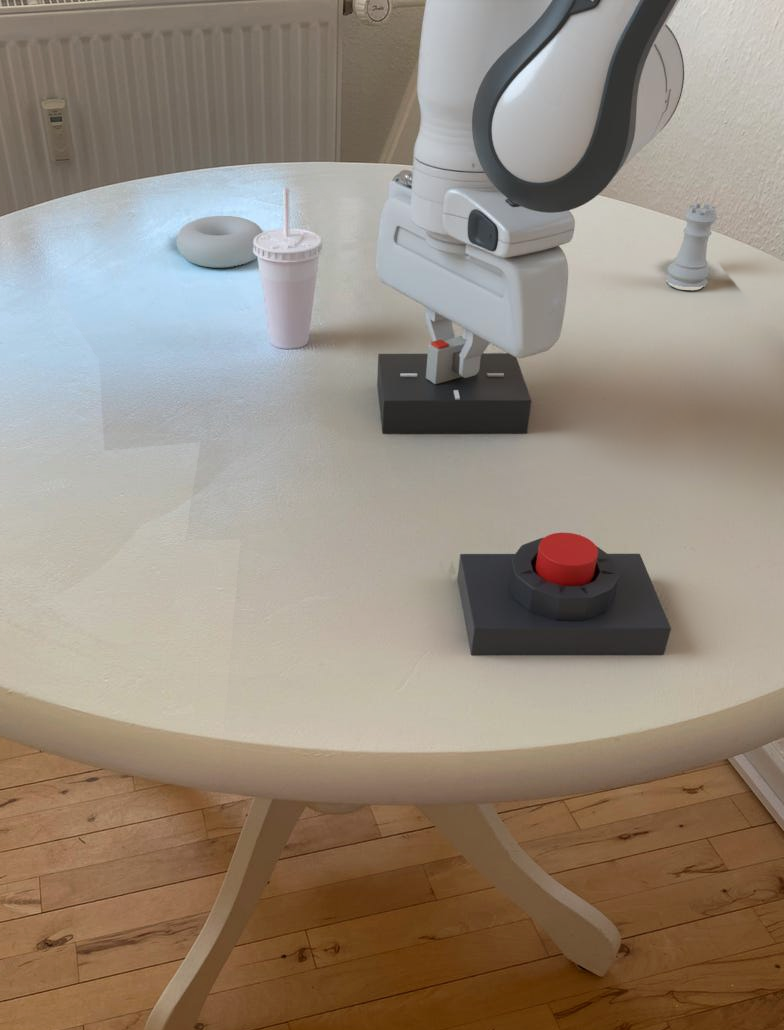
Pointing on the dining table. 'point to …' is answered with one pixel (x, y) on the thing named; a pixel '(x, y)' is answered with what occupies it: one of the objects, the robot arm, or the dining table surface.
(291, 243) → the smoothie
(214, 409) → the dining table surface
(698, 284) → the rook chess piece
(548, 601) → the power switch
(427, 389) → the panel
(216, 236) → the donut
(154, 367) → the dining table surface
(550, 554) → the power button
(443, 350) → the grey block
